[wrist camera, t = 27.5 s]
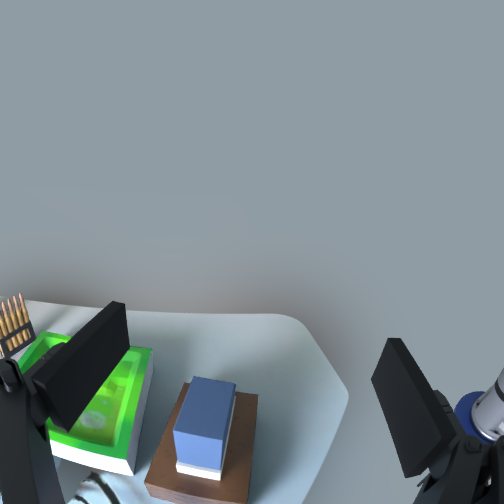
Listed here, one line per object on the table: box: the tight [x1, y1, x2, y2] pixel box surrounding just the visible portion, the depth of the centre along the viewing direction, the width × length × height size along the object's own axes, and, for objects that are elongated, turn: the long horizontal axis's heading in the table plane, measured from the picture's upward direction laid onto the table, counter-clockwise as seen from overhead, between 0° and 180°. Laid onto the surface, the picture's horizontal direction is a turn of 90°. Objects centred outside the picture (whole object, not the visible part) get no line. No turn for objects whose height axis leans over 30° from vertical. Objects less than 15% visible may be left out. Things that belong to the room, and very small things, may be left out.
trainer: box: [173, 376, 236, 480], centre depth 30 cm, size 5×14×9 cm, turn 176°
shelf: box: [144, 383, 258, 504], centre depth 32 cm, size 12×20×5 cm, turn 176°
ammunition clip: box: [0, 293, 36, 358], centre depth 40 cm, size 11×2×12 cm, turn 168°
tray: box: [17, 331, 154, 476], centre depth 35 cm, size 25×25×5 cm
